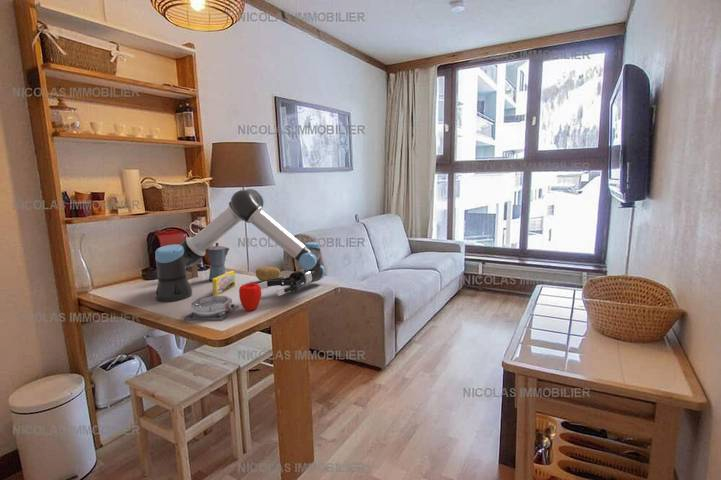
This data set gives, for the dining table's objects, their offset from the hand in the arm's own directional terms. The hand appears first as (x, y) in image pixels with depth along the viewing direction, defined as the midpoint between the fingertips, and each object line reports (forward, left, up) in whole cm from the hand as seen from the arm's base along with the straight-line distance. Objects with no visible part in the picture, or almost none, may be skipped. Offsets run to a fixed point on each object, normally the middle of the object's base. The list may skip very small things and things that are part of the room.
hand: (266, 290), depth 158 cm
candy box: (-27, +18, -6) cm, 33 cm away
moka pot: (-41, +39, -6) cm, 57 cm away
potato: (-11, +34, -6) cm, 36 cm away
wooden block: (-59, +41, -6) cm, 72 cm away
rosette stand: (-18, -12, -6) cm, 23 cm away
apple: (-4, -7, -6) cm, 10 cm away
